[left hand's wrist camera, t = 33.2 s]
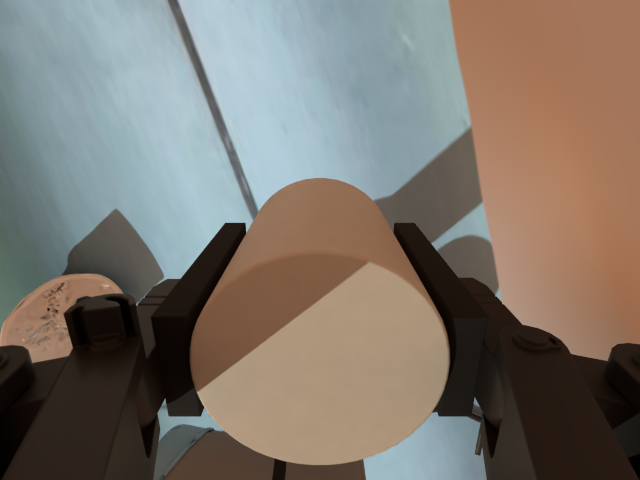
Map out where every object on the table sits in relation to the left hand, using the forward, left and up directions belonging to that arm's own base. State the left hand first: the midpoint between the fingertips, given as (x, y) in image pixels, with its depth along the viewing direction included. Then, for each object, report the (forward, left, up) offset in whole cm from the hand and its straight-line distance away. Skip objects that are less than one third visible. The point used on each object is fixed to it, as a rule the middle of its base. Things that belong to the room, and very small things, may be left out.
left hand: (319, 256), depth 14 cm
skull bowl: (+31, +22, -32) cm, 50 cm away
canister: (0, 0, -1) cm, 1 cm away
